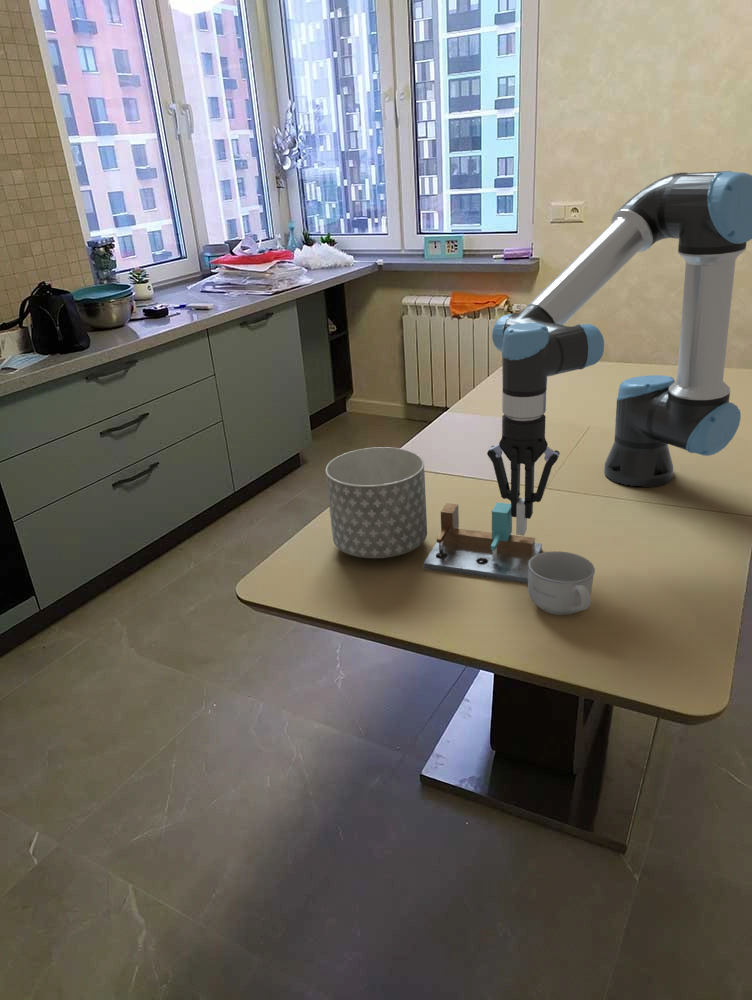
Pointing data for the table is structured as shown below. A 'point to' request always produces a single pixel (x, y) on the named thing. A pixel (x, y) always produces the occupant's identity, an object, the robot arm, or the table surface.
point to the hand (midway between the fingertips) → (521, 531)
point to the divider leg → (500, 526)
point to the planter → (377, 501)
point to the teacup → (560, 582)
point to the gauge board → (479, 551)
